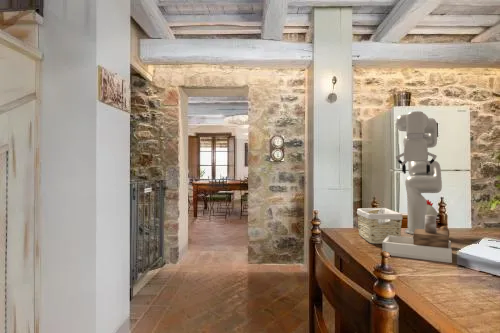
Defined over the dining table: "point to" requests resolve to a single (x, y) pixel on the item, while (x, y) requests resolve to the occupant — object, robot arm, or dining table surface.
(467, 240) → the dining table surface
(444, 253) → the bay
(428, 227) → the tan block with peg
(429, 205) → the kitchen timer
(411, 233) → the robot arm
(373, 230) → the storage basket
